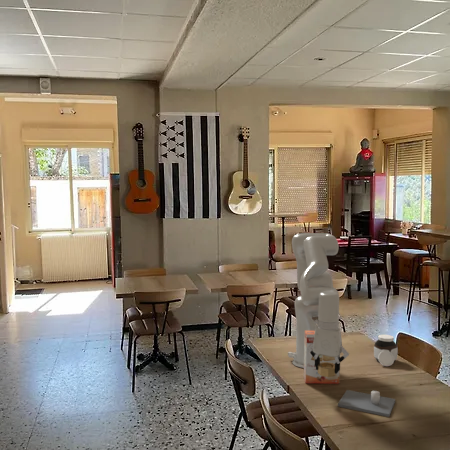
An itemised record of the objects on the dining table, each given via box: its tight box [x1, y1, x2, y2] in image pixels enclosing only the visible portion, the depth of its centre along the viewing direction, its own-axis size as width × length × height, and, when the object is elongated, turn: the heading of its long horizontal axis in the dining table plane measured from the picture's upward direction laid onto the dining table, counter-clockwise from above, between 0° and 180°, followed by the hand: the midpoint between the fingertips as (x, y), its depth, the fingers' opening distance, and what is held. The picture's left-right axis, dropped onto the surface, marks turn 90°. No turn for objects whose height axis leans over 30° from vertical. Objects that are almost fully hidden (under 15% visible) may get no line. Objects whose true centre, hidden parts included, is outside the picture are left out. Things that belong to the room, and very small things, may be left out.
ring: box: [318, 362, 336, 377], centre depth 180 cm, size 7×7×3 cm
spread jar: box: [373, 334, 399, 367], centre depth 219 cm, size 12×11×12 cm
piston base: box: [337, 389, 396, 418], centre depth 175 cm, size 18×14×5 cm
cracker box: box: [303, 331, 341, 385], centre depth 196 cm, size 14×6×21 cm, turn 90°
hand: (327, 370), depth 180 cm, fingers closed on ring, 6 cm apart
